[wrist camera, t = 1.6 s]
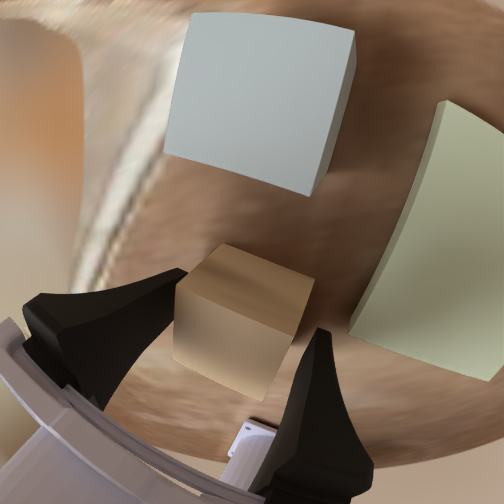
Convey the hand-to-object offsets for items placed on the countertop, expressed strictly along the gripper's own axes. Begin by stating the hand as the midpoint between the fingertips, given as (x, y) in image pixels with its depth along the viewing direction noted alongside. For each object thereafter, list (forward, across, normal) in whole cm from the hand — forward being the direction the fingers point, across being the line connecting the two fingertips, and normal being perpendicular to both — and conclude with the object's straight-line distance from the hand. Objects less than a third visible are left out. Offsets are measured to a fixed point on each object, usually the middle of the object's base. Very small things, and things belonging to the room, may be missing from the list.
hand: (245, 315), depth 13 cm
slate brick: (+2, +1, -9) cm, 9 cm away
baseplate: (+1, -9, -6) cm, 11 cm away
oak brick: (+2, 0, 0) cm, 2 cm away
